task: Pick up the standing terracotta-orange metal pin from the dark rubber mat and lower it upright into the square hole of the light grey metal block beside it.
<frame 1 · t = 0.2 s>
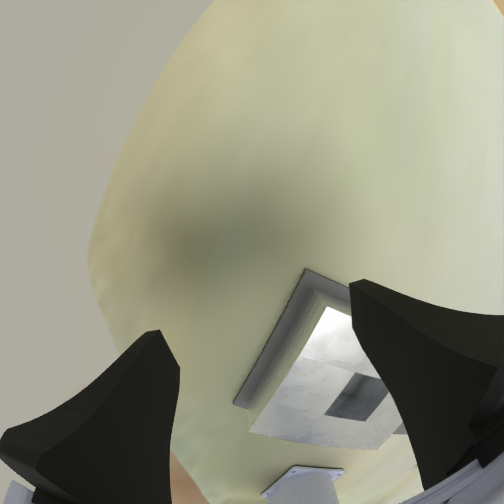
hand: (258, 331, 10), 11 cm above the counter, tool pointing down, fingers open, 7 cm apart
hole block: (346, 372, 22), resting on rubber mat
rubber mat: (395, 383, 23), on the counter
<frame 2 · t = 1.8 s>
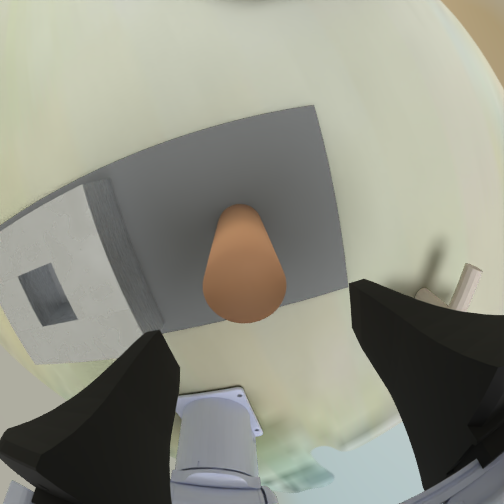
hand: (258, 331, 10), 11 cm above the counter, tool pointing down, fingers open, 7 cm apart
pipe connector: (420, 295, 22), on the counter
pin: (239, 225, 19), resting on rubber mat
hole block: (70, 276, 19), resting on rubber mat
rubber mat: (137, 253, 19), on the counter
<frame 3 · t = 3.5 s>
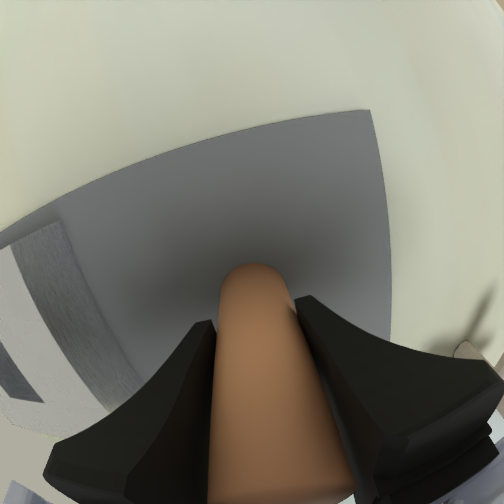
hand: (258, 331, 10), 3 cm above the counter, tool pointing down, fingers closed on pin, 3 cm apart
pipe connector: (460, 348, 16), on the counter
pin: (253, 293, 12), resting on rubber mat, touching gripper
hole block: (34, 336, 13), resting on rubber mat
rubber mat: (110, 320, 13), on the counter
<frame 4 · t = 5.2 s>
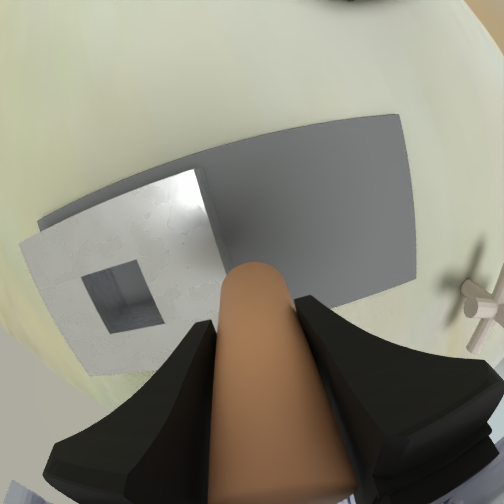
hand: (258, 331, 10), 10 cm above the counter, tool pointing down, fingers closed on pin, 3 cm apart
pipe connector: (465, 285, 23), on the counter
pin: (253, 292, 12), point 7 cm above the counter, touching gripper
hole block: (139, 274, 19), resting on rubber mat
rubber mat: (227, 248, 19), on the counter
when the fingers open (5 cm above the counter, at t = 7.4 s): pin drops 2 cm, resting on rubber mat.
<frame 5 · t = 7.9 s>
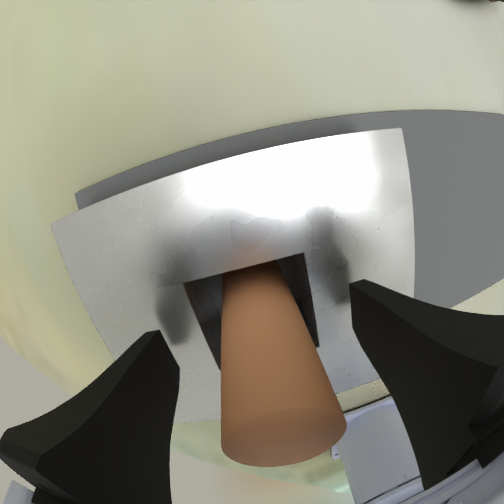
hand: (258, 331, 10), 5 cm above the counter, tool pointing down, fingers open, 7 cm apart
pin: (251, 275, 14), resting on rubber mat
hole block: (251, 276, 14), resting on rubber mat
rubber mat: (371, 241, 14), on the counter
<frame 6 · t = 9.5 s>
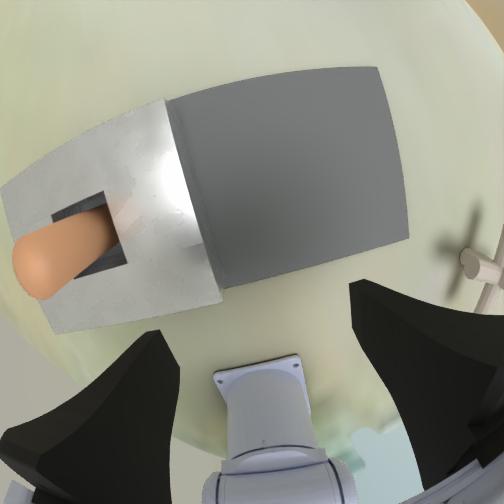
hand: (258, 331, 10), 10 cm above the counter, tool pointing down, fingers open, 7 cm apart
pipe connector: (464, 255, 21), on the counter
pin: (112, 222, 18), resting on rubber mat
hole block: (112, 223, 18), resting on rubber mat
rubber mat: (201, 194, 18), on the counter
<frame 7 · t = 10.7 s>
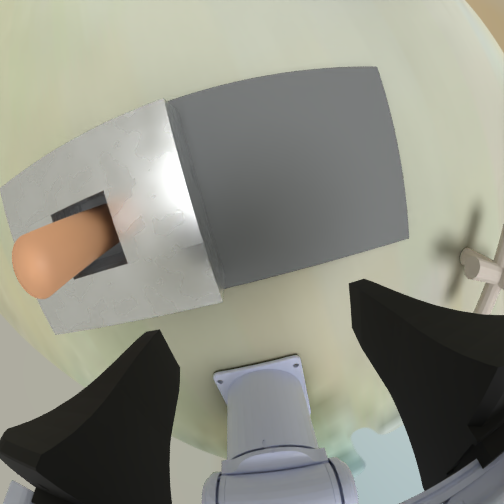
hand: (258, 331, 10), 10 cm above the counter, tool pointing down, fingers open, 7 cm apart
pipe connector: (464, 255, 21), on the counter
pin: (112, 222, 18), resting on rubber mat
hole block: (112, 223, 18), resting on rubber mat
rubber mat: (201, 194, 18), on the counter
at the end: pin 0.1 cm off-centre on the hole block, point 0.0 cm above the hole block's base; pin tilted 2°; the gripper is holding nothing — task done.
